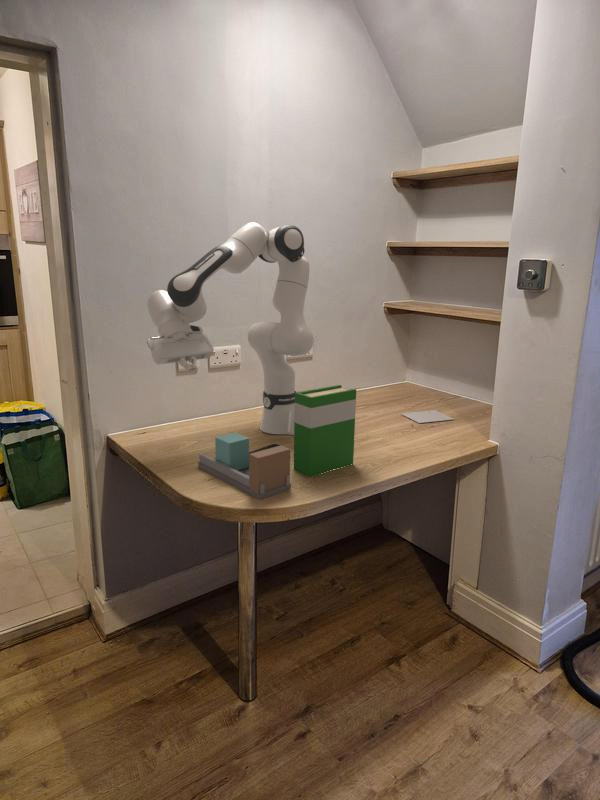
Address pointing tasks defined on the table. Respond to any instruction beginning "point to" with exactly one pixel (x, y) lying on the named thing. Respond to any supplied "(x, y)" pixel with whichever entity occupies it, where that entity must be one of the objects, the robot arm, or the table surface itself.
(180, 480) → the table surface
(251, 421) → the table surface
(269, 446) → the phone
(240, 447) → the block
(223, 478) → the keeper track
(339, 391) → the hardback book
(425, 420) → the paper stack
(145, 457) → the table surface
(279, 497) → the table surface
